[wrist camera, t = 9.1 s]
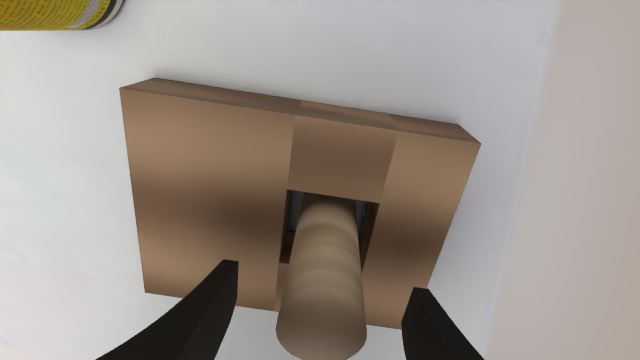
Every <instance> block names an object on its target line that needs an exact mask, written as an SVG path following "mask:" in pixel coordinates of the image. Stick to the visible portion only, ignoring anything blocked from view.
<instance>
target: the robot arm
mask: <svg viewBox="0 0 640 360" xmlns="http://www.w3.org/2000/svg"><path fill="white" fill-rule="evenodd" d="M238 267H239V261H233V260H226V259H223V260H222V261H221V262H220V263H219V264H218V265H217V266H216V267H215V268H214V269H213V270H212V271H211V272H210V273H209V274H208V275H207V276H206V277H205V278H204V279H203V280H202V281H201V282H200V283H199V284H198V285H197V286H196V287H195V288H194V289H193V290H192V291H191V292H190V293H189V294H188V295H187V296H185V297H184V298H183V299H182V300H181V301H180V302H178V303H177V304H176V305H175V306H174V307H173V308H171V309H170V310H169V311H168V312H167V313H165V314H164V315H163V316H161V317H160V318H159V319H158V320H156V321H155V322H154V323H152V324H151V325H149V326H148V327H147V328H145V329H144V330H142V331H141V332H139V333H138V334H137V335H135V336H134V337H132V338H131V339H129V340H128V341H126V342H124V343H123V344H121V345H120V346H118V347H117V348H115V349H113V350H111V351H110V352H108V353H106V354H104V355H103V356H101V357H99V358H98V359H96V360H214V359H215V357H216V354H217V352H218V350H219V347H220V345H221V343H222V340H223V338H224V336H225V333H226V331H227V328H228V326H229V324H230V321H231V317H232V314H233V311H234V308H235V304H236V301H237V290H238ZM401 327H402V337H403V345H404V351H405V355H406V360H484V359H483V357H482V356H481V355H480V354H479V353H478V352H477V351H476V349H475V348H474V347H473V346H472V345H471V344H470V342H469V341H468V340H467V339H466V338H465V336H464V335H463V334H462V333H461V331H460V330H459V329H458V328H457V326H456V325H455V324H454V323H453V321H452V320H451V319H450V317H449V316H448V315H447V313H446V312H445V311H444V309H443V308H442V307H441V305H440V304H439V303H438V301H437V300H436V299H435V297H434V296H433V294H432V293H431V292H430V291H429V289H425V288H418V287H413V290H412V293H411V296H410V298H409V301H408V304H407V307H406V310H405V313H404V315H403V318H402V321H401Z"/></svg>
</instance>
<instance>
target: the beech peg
mask: <svg viewBox="0 0 640 360" xmlns="http://www.w3.org/2000/svg"><path fill="white" fill-rule="evenodd" d="M276 334H277V338H278V340H279V342H280V344H281V345H282V346H283V347H284V348H285V349H286V350H287V351H288V352H289V353H291V354H292V355H294V356H296V357H298V358H300V359H302V360H345V359H348V358H350V357H352V356H353V355H355V354H356V353H357V352H358V351H359V350H360V349H361V348H362V347H363V345H364V343H365V341H366V337H367V329H366V318H365V308H364V297H363V286H362V275H361V264H360V253H359V242H358V231H357V220H356V210H355V201H354V199H348V198H342V197H335V196H328V195H322V194H315V193H308V192H306V193H305V194H304V196H303V199H302V204H301V209H300V214H299V219H298V223H297V228H296V233H295V238H294V243H293V248H292V252H291V257H290V262H289V267H288V272H287V277H286V282H285V286H284V291H283V296H282V301H281V306H280V311H279V315H278V320H277V325H276Z"/></svg>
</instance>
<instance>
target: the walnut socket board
mask: <svg viewBox="0 0 640 360" xmlns="http://www.w3.org/2000/svg"><path fill="white" fill-rule="evenodd" d="M119 89H120V97H121V105H122V113H123V121H124V129H125V137H126V145H127V153H128V161H129V169H130V177H131V185H132V193H133V201H134V209H135V217H136V225H137V233H138V241H139V249H140V257H141V264H142V272H143V280H144V288H145V293H152V294H159V295H165V296H172V297H179V298H184V297H185V296H187V295H188V294H189V293H190V292H191V291H192V290H193V289H194V288H195V287H196V286H197V285H198V284H199V283H200V282H201V281H202V280H203V279H204V278H205V277H206V276H207V275H208V274H209V273H210V272H211V271H212V270H213V269H214V268H215V267H216V266H217V265H218V264H219V263H220V262H221V261H222V260H223V259H226V260H233V261H239V267H238V290H237V301H236V304H235V306H242V307H249V308H256V309H263V310H270V311H276V312H279V311H280V306H281V301H282V296H283V291H284V286H285V282H286V277H287V272H288V267H289V262H290V257H291V252H292V248H293V243H294V238H295V233H294V232H287V224H288V216H289V207H290V199H291V190H295V191H302V192H308V193H315V194H322V195H328V196H335V197H342V198H348V199H355V200H362V201H368V204H367V209H366V213H365V217H364V221H363V225H362V230H361V234H360V238H359V253H360V264H361V275H362V286H363V297H364V308H365V318H366V324H367V325H374V326H380V327H387V328H394V329H401V330H402V327H401V321H402V318H403V315H404V313H405V310H406V307H407V304H408V301H409V298H410V296H411V293H412V290H413V287H418V288H425V289H426V288H427V285H428V282H429V280H430V277H431V275H432V272H433V269H434V267H435V264H436V261H437V259H438V256H439V254H440V251H441V248H442V246H443V243H444V240H445V238H446V235H447V233H448V230H449V227H450V225H451V222H452V219H453V217H454V214H455V211H456V209H457V206H458V204H459V201H460V198H461V196H462V193H463V190H464V188H465V185H466V183H467V180H468V177H469V175H470V172H471V169H472V167H473V164H474V162H475V159H476V156H477V154H478V151H479V148H480V146H481V143H480V142H479V141H477V140H476V139H475V138H474V137H473V136H471V135H470V134H469V133H468V132H467V131H465V130H464V129H463V128H462V127H461V126H459V125H457V124H450V123H444V122H437V121H431V120H425V119H418V118H412V117H405V116H399V115H392V114H386V113H379V112H373V111H366V110H360V109H353V108H347V107H340V106H334V105H328V104H321V103H315V102H308V101H302V100H295V99H289V98H282V97H276V96H269V95H263V94H256V93H250V92H243V91H237V90H231V89H224V88H218V87H211V86H205V85H198V84H192V83H185V82H179V81H172V80H166V79H159V78H152V79H149V80H145V81H142V82H138V83H135V84H131V85H128V86H124V87H121V88H119Z"/></svg>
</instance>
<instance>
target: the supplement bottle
mask: <svg viewBox="0 0 640 360" xmlns="http://www.w3.org/2000/svg"><path fill="white" fill-rule="evenodd" d="M122 1H123V0H0V31H34V30H89V29H94V28H97V27H100V26H102V25H104V24H106V23H107V22H108V21H110V20H111V19H112V18H113V17H114V16H115V15H116V13H117V12H118V10H119V8H120V6H121V4H122Z"/></svg>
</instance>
